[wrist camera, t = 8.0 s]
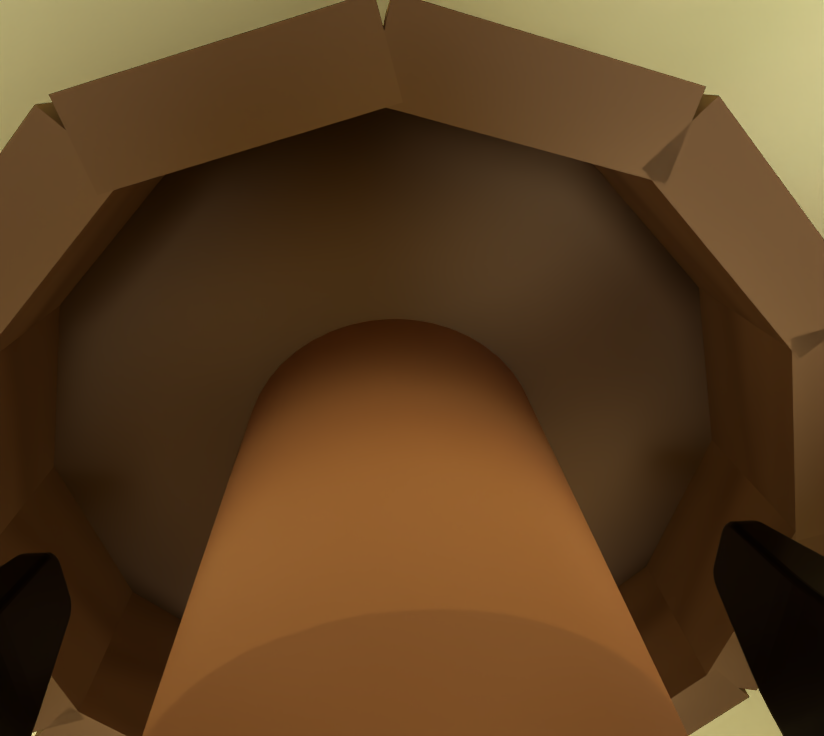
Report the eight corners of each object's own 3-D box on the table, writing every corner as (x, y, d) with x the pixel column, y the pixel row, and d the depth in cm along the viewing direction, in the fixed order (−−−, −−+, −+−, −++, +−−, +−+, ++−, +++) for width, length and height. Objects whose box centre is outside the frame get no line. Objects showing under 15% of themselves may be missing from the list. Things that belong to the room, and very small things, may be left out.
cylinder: (547, 314, 10) (745, 592, 5) (526, 559, 12) (647, 943, 7) (228, 323, 10) (63, 626, 5) (263, 571, 12) (176, 981, 7)
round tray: (877, 415, 12) (1028, 520, 9) (399, 761, 16) (405, 913, 13) (372, -219, 8) (374, -376, 5) (-137, 455, 11) (-303, 583, 8)
